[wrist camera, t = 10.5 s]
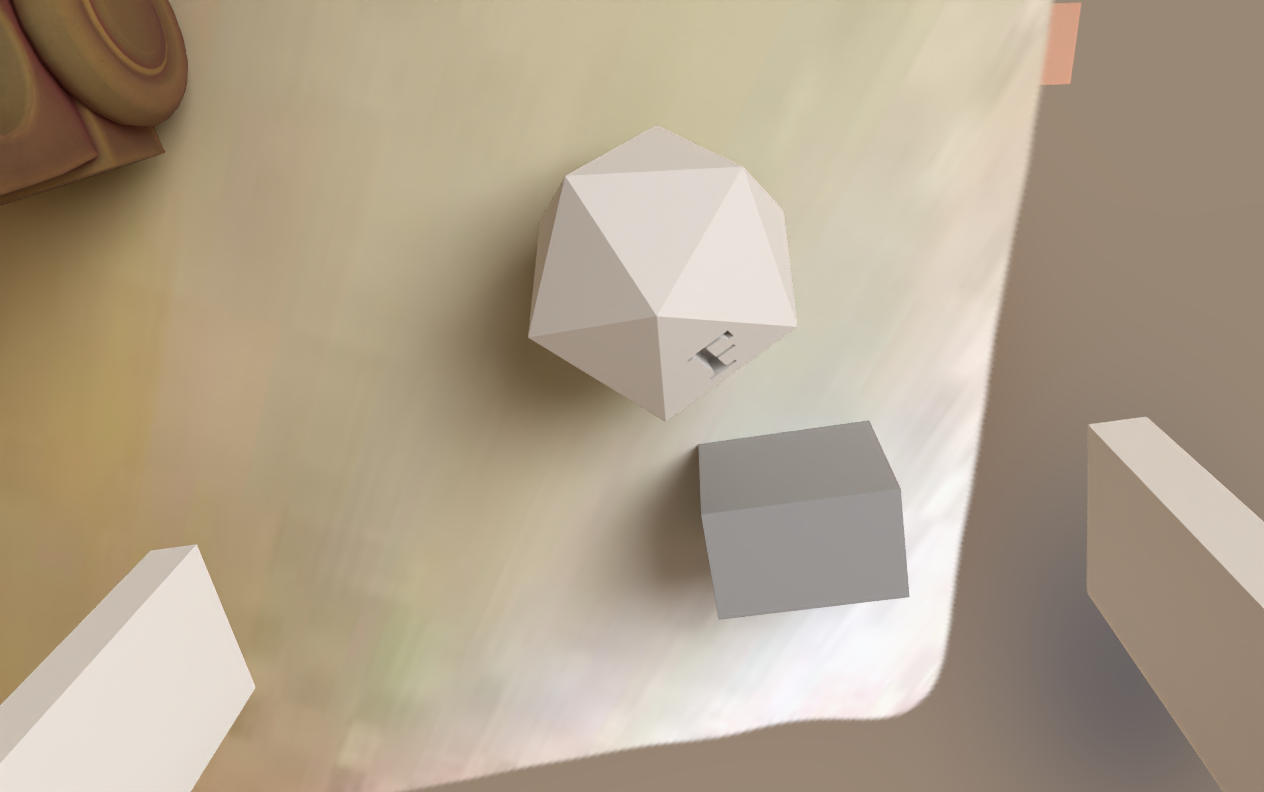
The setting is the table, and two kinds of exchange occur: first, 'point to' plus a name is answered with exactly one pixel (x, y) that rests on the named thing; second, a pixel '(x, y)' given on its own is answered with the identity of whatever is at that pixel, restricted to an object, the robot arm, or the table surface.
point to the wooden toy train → (83, 88)
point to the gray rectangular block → (801, 521)
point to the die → (661, 271)
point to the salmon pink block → (1061, 44)
